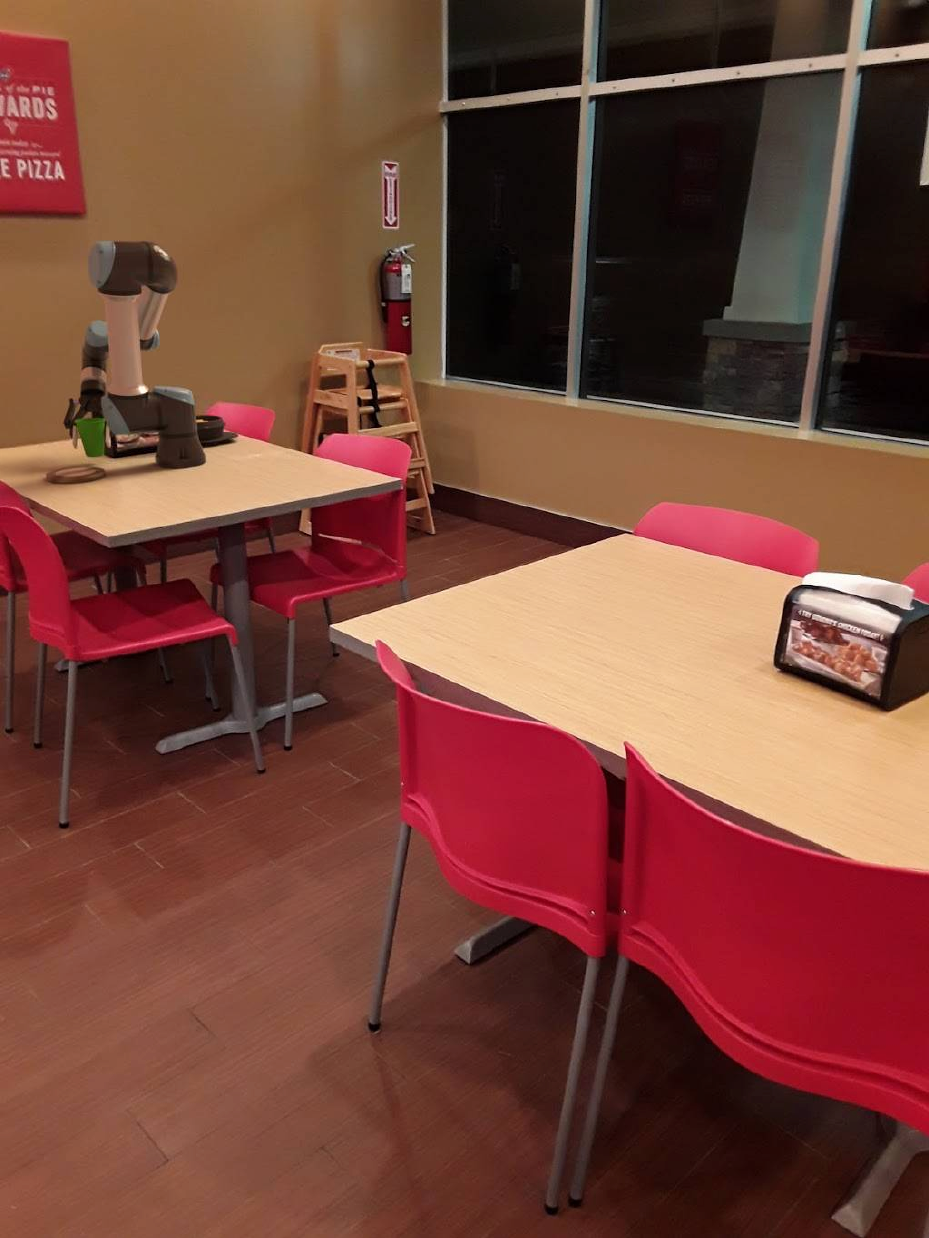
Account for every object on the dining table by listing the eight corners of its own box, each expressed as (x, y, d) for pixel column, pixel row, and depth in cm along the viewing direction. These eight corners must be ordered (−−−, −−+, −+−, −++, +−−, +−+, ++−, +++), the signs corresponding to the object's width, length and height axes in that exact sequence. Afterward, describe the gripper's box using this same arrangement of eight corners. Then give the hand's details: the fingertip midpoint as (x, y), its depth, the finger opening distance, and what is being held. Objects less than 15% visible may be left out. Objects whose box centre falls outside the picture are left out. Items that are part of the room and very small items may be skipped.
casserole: (172, 451, 310) (169, 426, 307) (158, 442, 325) (155, 417, 321) (246, 444, 321) (244, 419, 318) (229, 435, 336) (227, 411, 333)
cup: (115, 453, 295) (110, 417, 291) (102, 459, 286) (97, 422, 282) (88, 452, 295) (82, 417, 291) (74, 458, 287) (68, 422, 283)
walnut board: (117, 473, 279) (116, 468, 278) (79, 485, 265) (78, 480, 264) (73, 469, 284) (72, 464, 283) (34, 481, 270) (33, 475, 269)
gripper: (131, 392, 300) (131, 451, 292) (60, 394, 297) (57, 454, 288) (127, 377, 294) (126, 436, 285) (53, 379, 290) (50, 439, 281)
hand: (91, 445), depth 286 cm, fingers closed on cup, 9 cm apart
